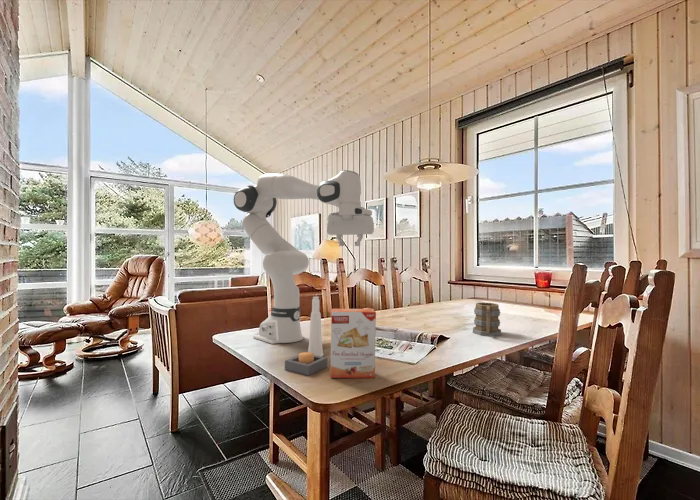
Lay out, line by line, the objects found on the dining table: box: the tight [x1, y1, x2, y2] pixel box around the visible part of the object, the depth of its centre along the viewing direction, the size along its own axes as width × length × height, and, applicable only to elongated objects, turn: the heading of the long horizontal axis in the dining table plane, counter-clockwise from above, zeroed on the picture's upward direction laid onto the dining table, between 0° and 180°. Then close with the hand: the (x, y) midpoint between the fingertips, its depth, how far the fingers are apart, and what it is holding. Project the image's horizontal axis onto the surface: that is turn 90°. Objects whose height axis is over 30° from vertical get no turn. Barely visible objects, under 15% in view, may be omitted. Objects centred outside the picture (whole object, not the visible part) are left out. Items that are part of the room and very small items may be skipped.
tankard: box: [472, 302, 502, 337], centre depth 167 cm, size 20×13×15 cm, turn 158°
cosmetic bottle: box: [307, 295, 324, 357], centre depth 133 cm, size 6×6×22 cm
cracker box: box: [330, 308, 377, 379], centre depth 112 cm, size 14×6×21 cm, turn 93°
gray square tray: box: [284, 354, 328, 377], centre depth 119 cm, size 10×10×3 cm
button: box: [298, 351, 314, 364], centre depth 119 cm, size 5×5×4 cm
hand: (349, 246), depth 142 cm, fingers open, 6 cm apart
